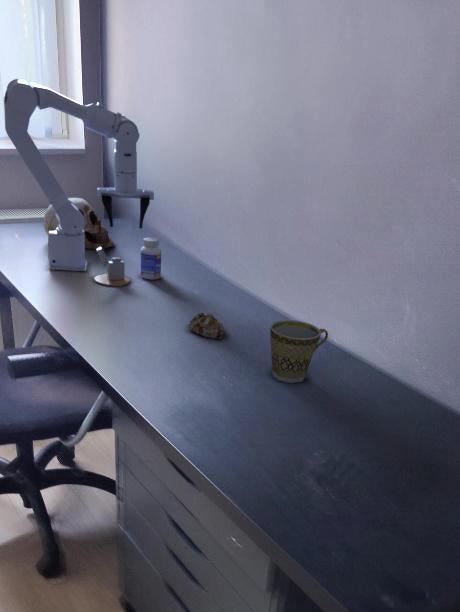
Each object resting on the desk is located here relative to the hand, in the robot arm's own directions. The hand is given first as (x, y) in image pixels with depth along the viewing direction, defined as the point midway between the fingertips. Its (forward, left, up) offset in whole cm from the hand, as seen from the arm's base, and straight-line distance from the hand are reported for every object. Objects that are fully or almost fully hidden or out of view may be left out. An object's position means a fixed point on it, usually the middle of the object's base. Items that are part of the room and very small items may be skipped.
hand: (126, 226), depth 190 cm
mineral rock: (+19, -46, -11) cm, 51 cm away
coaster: (-3, -13, -10) cm, 17 cm away
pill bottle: (+7, -8, -11) cm, 15 cm away
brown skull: (-13, +20, -11) cm, 26 cm away
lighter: (-4, -13, -10) cm, 17 cm away
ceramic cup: (+35, -68, -11) cm, 77 cm away
